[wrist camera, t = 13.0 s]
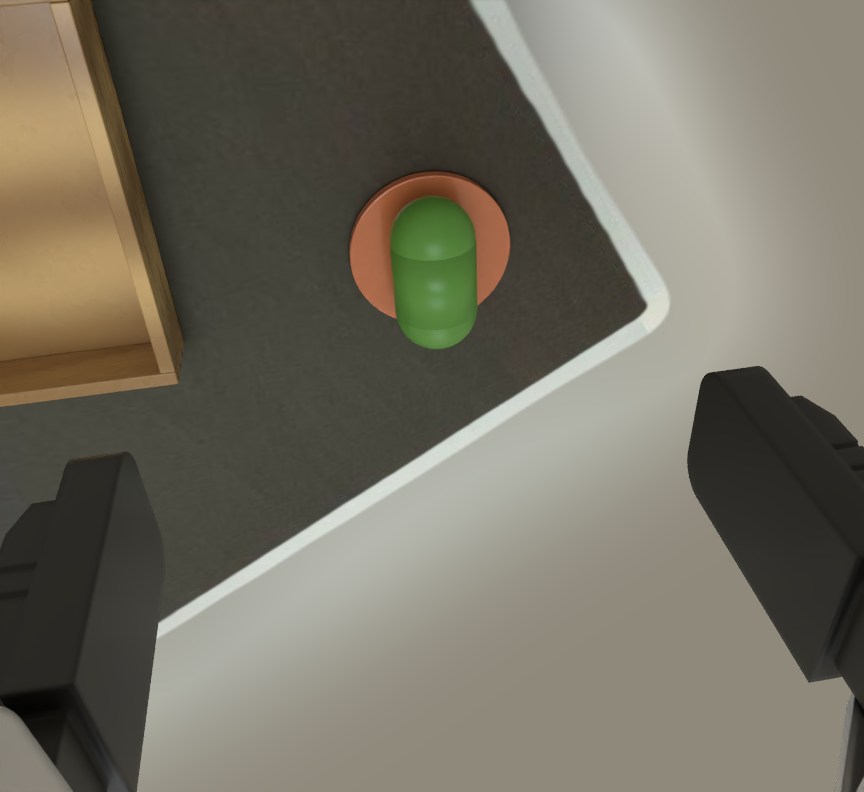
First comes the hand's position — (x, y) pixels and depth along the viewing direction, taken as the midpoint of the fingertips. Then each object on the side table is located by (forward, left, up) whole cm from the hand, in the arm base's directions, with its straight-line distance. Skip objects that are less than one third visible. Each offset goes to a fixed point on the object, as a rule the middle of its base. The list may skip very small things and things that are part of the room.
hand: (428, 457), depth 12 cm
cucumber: (+11, +4, -27) cm, 30 cm away
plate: (+11, +4, -28) cm, 30 cm away
